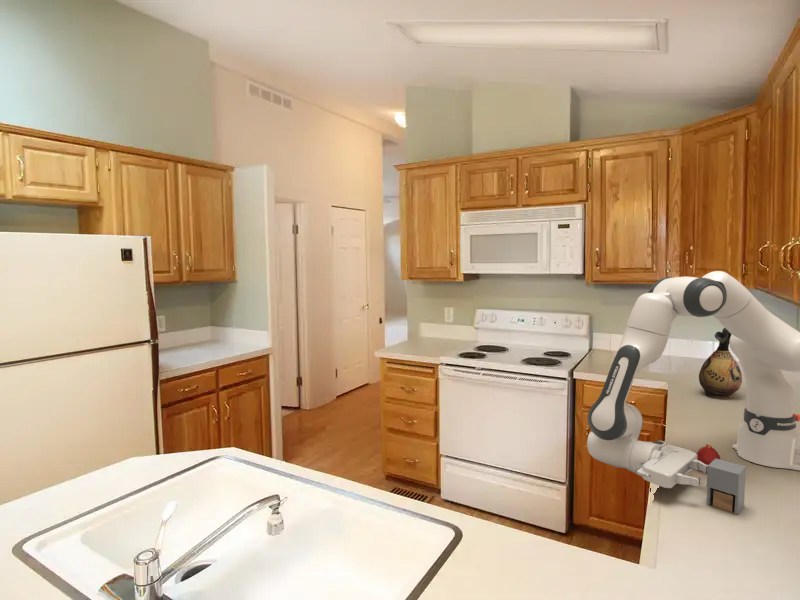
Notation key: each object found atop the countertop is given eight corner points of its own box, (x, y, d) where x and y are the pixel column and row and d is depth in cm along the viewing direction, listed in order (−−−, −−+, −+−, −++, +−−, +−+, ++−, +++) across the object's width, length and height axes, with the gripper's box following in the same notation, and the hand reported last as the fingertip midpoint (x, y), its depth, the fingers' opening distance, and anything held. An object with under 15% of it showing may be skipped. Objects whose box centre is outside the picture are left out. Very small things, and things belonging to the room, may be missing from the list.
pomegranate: (697, 465, 141) (698, 438, 140) (721, 470, 138) (722, 443, 137) (694, 472, 137) (695, 444, 136) (718, 477, 133) (719, 449, 132)
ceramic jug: (734, 404, 198) (738, 331, 196) (692, 396, 210) (696, 327, 207) (746, 395, 210) (750, 327, 207) (705, 388, 221) (709, 323, 219)
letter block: (717, 500, 121) (718, 484, 121) (736, 506, 118) (737, 490, 118) (712, 506, 118) (713, 489, 118) (732, 512, 115) (732, 495, 115)
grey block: (713, 496, 123) (715, 458, 122) (743, 506, 118) (746, 466, 117) (705, 505, 118) (707, 465, 118) (736, 515, 114) (738, 474, 113)
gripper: (631, 459, 124) (692, 477, 114) (662, 438, 138) (718, 452, 127) (630, 483, 125) (690, 503, 114) (661, 460, 138) (717, 476, 128)
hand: (705, 476), depth 121 cm, fingers open, 8 cm apart
